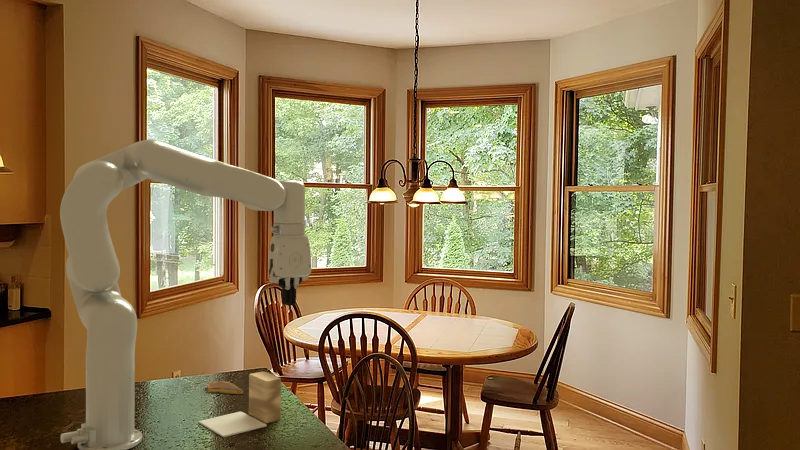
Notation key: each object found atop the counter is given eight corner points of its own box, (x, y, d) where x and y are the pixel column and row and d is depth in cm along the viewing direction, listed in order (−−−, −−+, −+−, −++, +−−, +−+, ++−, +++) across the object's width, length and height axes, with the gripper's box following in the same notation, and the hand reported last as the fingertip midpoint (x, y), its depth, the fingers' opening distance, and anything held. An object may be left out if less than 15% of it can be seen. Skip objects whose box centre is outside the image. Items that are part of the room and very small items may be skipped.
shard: (244, 396, 176) (244, 389, 176) (216, 400, 171) (216, 393, 171) (228, 386, 185) (229, 379, 185) (202, 390, 180) (202, 383, 180)
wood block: (265, 423, 154) (266, 381, 154) (248, 414, 160) (249, 374, 160) (280, 419, 157) (281, 378, 156) (263, 411, 163) (263, 371, 162)
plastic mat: (223, 437, 145) (223, 435, 145) (198, 422, 153) (198, 421, 153) (266, 426, 152) (266, 424, 152) (240, 412, 161) (240, 411, 161)
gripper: (271, 232, 153) (271, 310, 154) (323, 230, 163) (322, 303, 164) (254, 230, 158) (254, 306, 159) (305, 229, 169) (305, 299, 170)
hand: (289, 304), depth 162 cm, fingers closed
